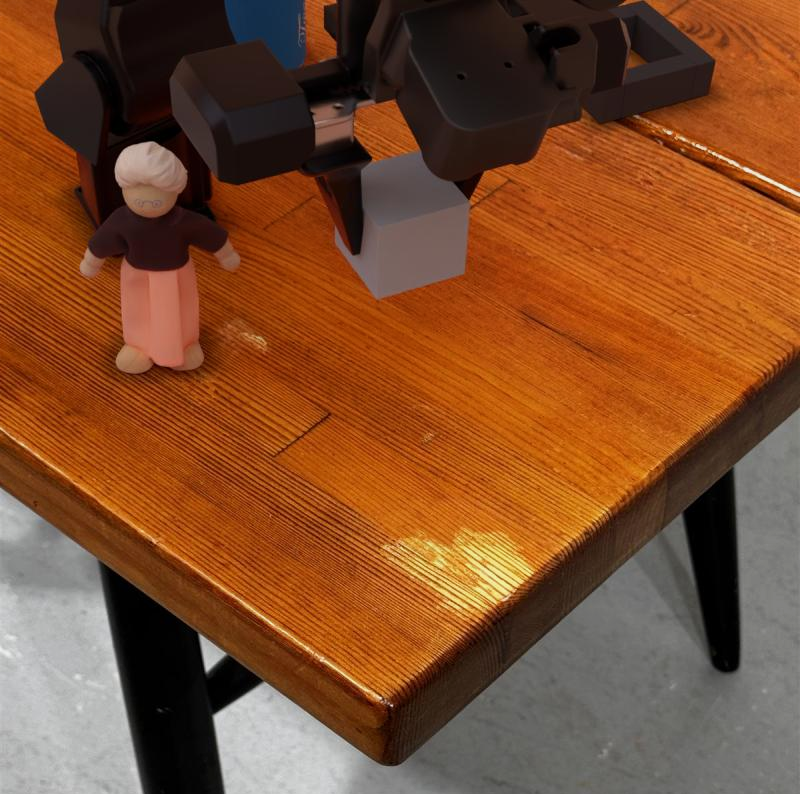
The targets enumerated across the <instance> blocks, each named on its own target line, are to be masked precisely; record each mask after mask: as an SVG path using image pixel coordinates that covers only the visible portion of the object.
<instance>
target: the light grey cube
mask: <svg viewBox="0 0 800 794" xmlns="http://www.w3.org/2000/svg"><path fill="white" fill-rule="evenodd" d="M361 183H362V204H363V225H364V227H363V237H362V245H361V252H360V254H359V255H355V256H352V255H351V253H350V252H349V251H348V249H347V248H346V247H345V245H344V243H343V241H342V239H341V237H340V234H339V232H338V230H337V228H336V226H335V225H334V245H335V246H336V247H337V248H338V250H339V251H340V252H341V254H342V255H343V256H344V258H345V259H346V260H347V262H348V263H349V265H350V266H351V267H352V268H353V270H354V271H355V273H356V274H357V275H358V277H359V279H361V281H362V282H363V283H364V285H365V286H366V287H367V289H368V291H370V293H371V295H372V296H373V297H374V299H375V300H381V299H385V298H388V297H391V296H395V295H398V294H401V293H402V294H403V293H404V292H409V291H412V290H415V289H419V288H422V287H425V286H429V285H432V284H435V283H438V282H442V281H446V280H449V279H453V278H455V277H459V276H462V275H465V273H466V264H467V251H468V238H469V237H468V236H469V228H470V227H469V226H470V225H469V224H470V213H471V202H470V201H471V200H468V199H467V198H466V197H465V196H464V195H463V193H462V192H461V191H460V190H459V189H458V188H457V186H456V185H455V184H454V183H453V182H451V181H445V180H442V179H440V178H438V177H437V176H435V175H434V174H433V173H432V172H431V171H430V170H429V169H428V168H427V166H426V164H425V162H424V160H423V158H422V153H421V150H420V149H418V150H414V151H410V152H406V153H403V154H399V155H395V156H391V157H388V158H387V157H386V158H383V159H379V160H376V161H371V162H370V163H369V164H368V165H367V166H366V167H364V168H363V169H362V170H361Z"/></svg>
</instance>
